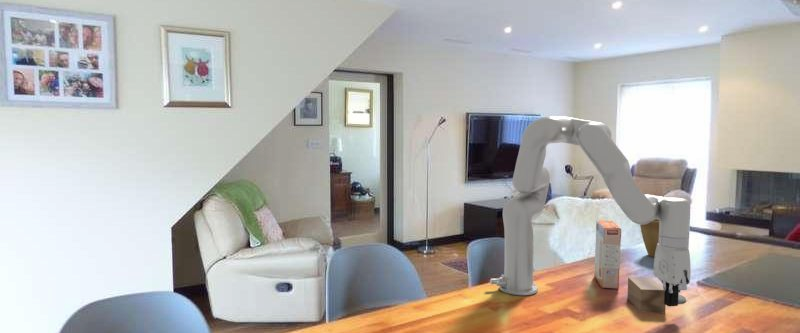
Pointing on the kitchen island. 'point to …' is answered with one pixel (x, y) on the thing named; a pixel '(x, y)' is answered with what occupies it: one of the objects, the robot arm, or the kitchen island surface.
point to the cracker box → (607, 254)
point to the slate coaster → (681, 299)
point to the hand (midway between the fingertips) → (670, 305)
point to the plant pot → (650, 236)
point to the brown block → (646, 294)
